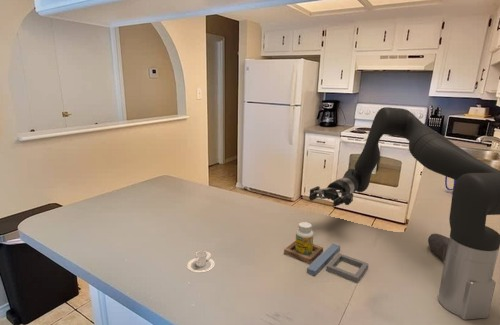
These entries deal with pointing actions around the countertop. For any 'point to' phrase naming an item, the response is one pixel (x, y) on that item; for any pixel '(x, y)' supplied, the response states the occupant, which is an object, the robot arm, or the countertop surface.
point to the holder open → (345, 274)
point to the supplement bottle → (304, 239)
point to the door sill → (323, 259)
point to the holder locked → (299, 256)
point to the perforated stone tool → (438, 245)
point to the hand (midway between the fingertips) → (322, 200)
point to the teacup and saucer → (201, 261)
